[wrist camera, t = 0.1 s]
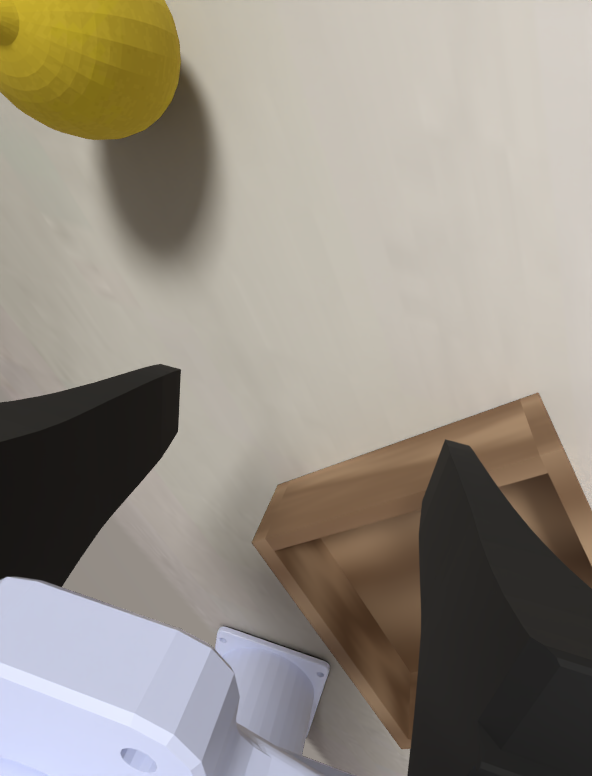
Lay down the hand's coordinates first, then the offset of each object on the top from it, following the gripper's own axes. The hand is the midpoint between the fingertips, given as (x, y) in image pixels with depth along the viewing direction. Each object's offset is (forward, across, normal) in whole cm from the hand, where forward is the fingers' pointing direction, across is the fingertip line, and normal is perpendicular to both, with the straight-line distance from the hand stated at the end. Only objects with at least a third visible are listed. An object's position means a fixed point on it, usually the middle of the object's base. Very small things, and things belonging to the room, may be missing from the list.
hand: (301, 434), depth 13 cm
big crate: (+10, -8, +12) cm, 18 cm away
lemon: (+10, +10, -8) cm, 17 cm away
